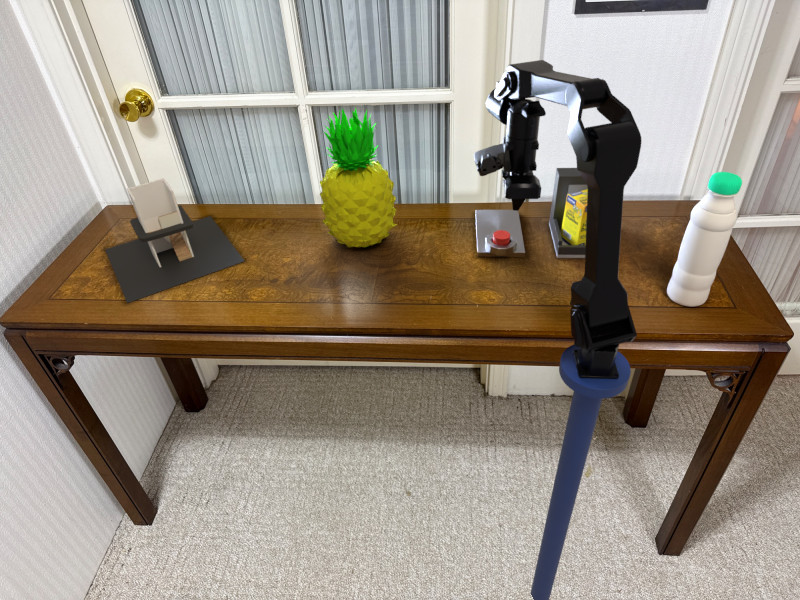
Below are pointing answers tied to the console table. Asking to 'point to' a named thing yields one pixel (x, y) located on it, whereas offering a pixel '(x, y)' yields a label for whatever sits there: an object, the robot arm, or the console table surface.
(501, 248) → the button block
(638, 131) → the robot arm
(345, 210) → the pineapple
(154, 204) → the beige and grey stand
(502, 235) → the button
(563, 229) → the supplement box
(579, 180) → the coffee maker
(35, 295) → the console table surface
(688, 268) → the water bottle
